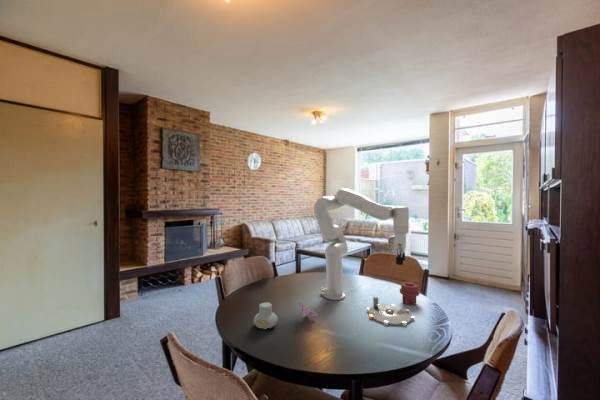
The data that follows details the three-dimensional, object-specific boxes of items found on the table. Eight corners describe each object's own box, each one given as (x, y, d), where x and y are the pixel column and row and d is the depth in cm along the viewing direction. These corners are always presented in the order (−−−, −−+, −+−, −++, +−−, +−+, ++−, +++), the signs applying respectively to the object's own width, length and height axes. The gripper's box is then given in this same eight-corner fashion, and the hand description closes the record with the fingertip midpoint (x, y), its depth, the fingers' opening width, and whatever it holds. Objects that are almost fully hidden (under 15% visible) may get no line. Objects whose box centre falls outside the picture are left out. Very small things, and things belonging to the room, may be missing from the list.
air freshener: (279, 323, 130) (279, 302, 130) (273, 331, 122) (273, 309, 122) (258, 320, 133) (258, 300, 133) (250, 329, 125) (250, 307, 125)
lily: (318, 330, 126) (323, 308, 130) (295, 322, 123) (301, 300, 127) (308, 327, 136) (313, 307, 140) (287, 320, 134) (293, 300, 138)
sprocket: (361, 320, 130) (361, 306, 130) (371, 303, 150) (371, 291, 150) (412, 330, 120) (412, 315, 120) (415, 311, 140) (416, 298, 140)
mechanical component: (417, 302, 155) (421, 309, 145) (398, 301, 157) (401, 308, 147) (417, 280, 154) (421, 286, 145) (398, 279, 156) (401, 285, 147)
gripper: (395, 227, 153) (395, 258, 154) (390, 231, 138) (390, 265, 138) (409, 228, 150) (409, 259, 150) (406, 232, 134) (406, 267, 135)
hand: (400, 262), depth 144 cm, fingers open, 9 cm apart
